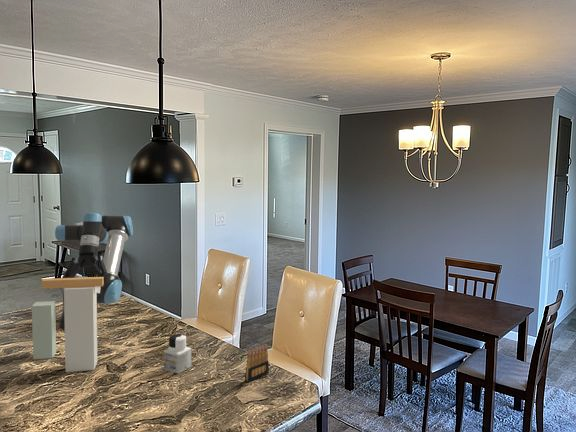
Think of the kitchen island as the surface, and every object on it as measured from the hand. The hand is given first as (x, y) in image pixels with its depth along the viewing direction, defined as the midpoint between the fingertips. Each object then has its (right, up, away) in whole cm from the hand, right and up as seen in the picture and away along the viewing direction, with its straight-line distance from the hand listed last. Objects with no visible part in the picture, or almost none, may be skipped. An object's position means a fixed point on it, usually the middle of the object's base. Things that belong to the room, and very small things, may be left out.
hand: (82, 294), depth 186 cm
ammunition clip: (+76, -28, -22) cm, 84 cm away
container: (+45, -26, -16) cm, 54 cm away
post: (+8, -25, -17) cm, 31 cm away
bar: (+6, +7, -20) cm, 22 cm away
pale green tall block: (-12, -24, -8) cm, 28 cm away
